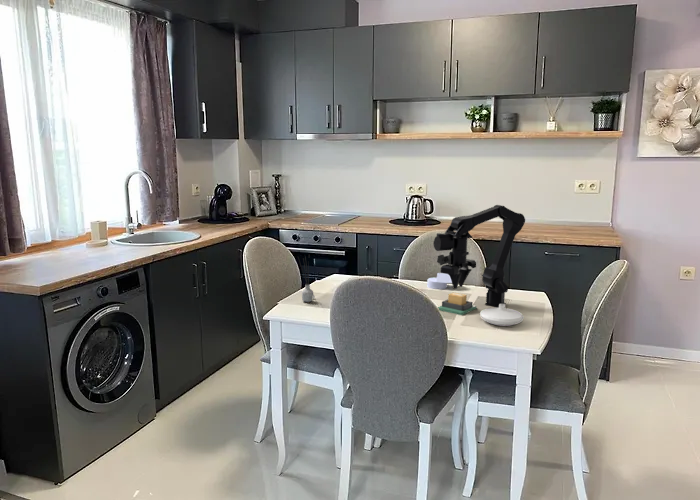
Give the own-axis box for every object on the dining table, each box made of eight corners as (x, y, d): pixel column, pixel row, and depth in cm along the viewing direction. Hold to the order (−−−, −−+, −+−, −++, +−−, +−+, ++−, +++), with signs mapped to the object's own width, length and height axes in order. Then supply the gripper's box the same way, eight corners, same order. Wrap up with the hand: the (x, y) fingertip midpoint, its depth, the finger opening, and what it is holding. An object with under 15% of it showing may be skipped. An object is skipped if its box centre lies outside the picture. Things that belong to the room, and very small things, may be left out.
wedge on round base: (456, 285, 260) (428, 283, 264) (456, 271, 259) (429, 270, 262) (454, 290, 252) (425, 288, 255) (455, 276, 250) (426, 274, 254)
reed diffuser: (310, 305, 228) (309, 257, 224) (294, 303, 230) (293, 256, 226) (317, 298, 238) (316, 252, 234) (302, 297, 239) (301, 252, 236)
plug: (466, 307, 223) (466, 294, 222) (461, 309, 220) (461, 296, 219) (452, 304, 227) (453, 291, 226) (448, 306, 224) (448, 293, 223)
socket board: (476, 308, 224) (476, 301, 224) (461, 315, 215) (462, 307, 215) (452, 303, 231) (452, 296, 231) (437, 309, 222) (437, 302, 222)
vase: (481, 328, 201) (482, 309, 199) (477, 315, 216) (478, 297, 215) (526, 330, 198) (527, 311, 197) (519, 317, 214) (520, 299, 212)
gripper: (453, 243, 231) (452, 280, 234) (429, 250, 217) (428, 288, 220) (477, 247, 224) (475, 284, 227) (454, 253, 210) (452, 293, 213)
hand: (457, 287), depth 222 cm, fingers open, 4 cm apart
